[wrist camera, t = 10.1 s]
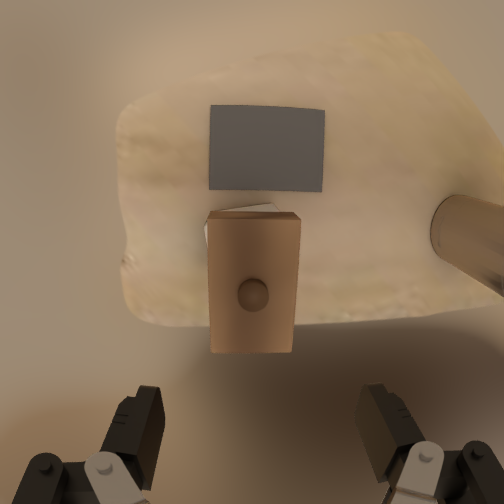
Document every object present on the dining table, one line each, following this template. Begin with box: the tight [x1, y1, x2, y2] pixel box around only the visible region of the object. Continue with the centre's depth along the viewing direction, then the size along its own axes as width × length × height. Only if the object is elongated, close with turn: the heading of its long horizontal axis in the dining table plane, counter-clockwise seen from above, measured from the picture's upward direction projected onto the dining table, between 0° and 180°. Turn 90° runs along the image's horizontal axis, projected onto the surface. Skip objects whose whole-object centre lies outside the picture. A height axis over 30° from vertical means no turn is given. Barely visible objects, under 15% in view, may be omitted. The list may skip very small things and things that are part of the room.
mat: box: [209, 105, 325, 192], centre depth 33 cm, size 12×9×1 cm
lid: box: [207, 211, 301, 353], centre depth 23 cm, size 6×10×4 cm, turn 179°
